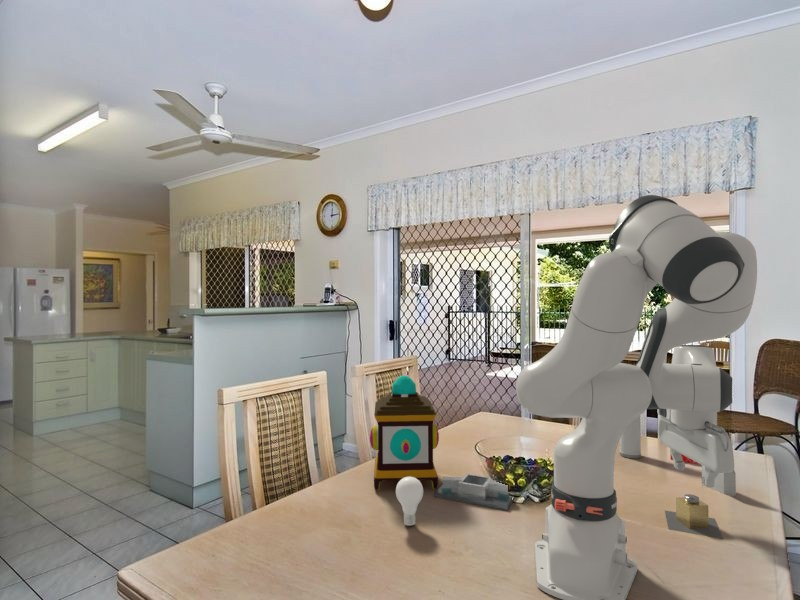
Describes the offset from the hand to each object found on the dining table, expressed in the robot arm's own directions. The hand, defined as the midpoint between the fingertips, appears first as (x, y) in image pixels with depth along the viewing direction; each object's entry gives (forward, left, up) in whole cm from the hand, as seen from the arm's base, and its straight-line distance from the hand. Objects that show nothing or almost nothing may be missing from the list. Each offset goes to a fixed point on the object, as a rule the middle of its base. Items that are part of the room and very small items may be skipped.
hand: (693, 477), depth 104 cm
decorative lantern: (-1, +71, -11) cm, 72 cm away
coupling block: (0, 0, -10) cm, 10 cm away
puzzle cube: (+53, -4, -12) cm, 54 cm away
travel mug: (+48, +12, -11) cm, 51 cm away
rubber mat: (0, 0, -11) cm, 11 cm away
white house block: (+26, -9, -12) cm, 30 cm away
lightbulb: (-26, +58, -11) cm, 65 cm away
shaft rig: (-4, +49, -11) cm, 51 cm away
